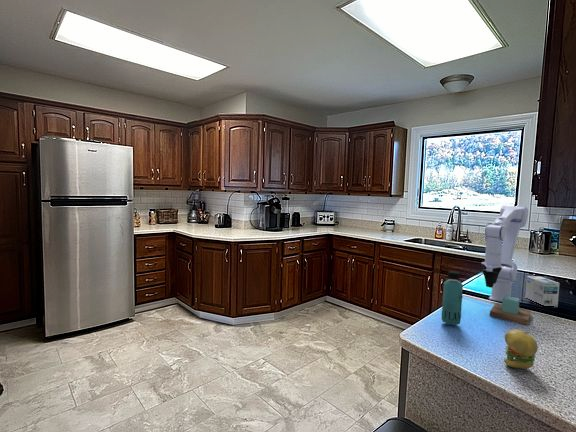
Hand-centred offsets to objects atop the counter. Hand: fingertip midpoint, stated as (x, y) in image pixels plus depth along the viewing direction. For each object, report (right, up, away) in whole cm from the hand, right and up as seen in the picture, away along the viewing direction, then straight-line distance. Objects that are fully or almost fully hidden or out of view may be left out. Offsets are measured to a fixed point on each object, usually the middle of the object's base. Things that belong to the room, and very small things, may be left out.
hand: (491, 285), depth 134 cm
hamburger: (-22, -13, -46) cm, 53 cm away
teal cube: (+2, -8, -9) cm, 12 cm away
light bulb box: (+26, -10, +7) cm, 29 cm away
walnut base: (+2, -10, -9) cm, 14 cm away
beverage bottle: (-27, -11, -18) cm, 34 cm away
